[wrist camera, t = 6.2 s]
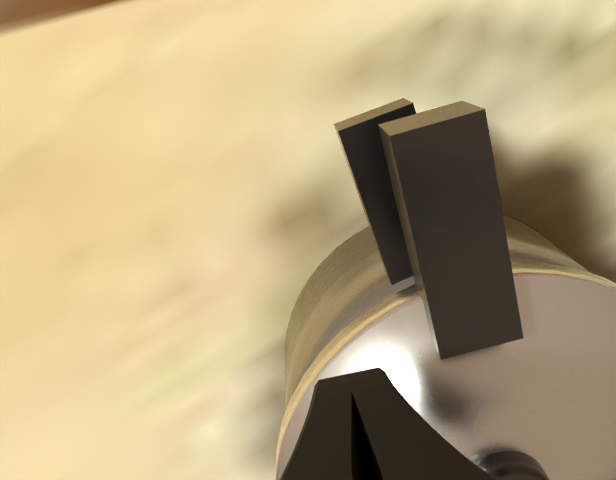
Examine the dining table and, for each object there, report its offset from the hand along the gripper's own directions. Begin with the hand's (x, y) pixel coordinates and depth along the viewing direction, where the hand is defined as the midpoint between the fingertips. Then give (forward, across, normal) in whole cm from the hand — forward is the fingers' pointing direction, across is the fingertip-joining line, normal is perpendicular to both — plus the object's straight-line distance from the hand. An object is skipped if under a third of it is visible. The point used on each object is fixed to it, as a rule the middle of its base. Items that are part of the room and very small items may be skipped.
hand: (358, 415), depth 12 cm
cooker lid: (+4, -3, +3) cm, 6 cm away
